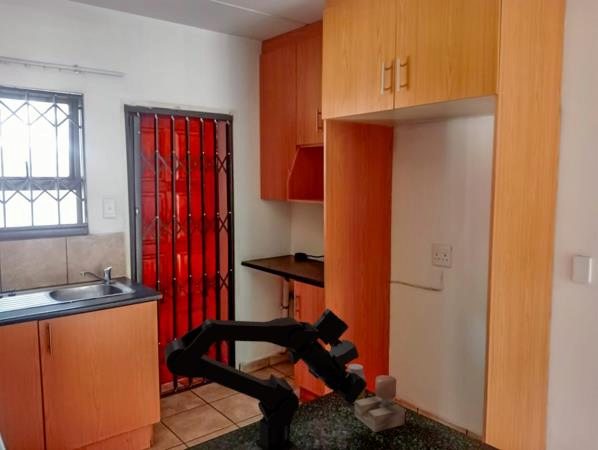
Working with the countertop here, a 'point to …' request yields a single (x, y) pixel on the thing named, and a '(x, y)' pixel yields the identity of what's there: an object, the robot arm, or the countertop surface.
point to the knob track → (379, 414)
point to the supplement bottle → (359, 371)
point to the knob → (385, 389)
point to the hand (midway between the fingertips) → (355, 396)
